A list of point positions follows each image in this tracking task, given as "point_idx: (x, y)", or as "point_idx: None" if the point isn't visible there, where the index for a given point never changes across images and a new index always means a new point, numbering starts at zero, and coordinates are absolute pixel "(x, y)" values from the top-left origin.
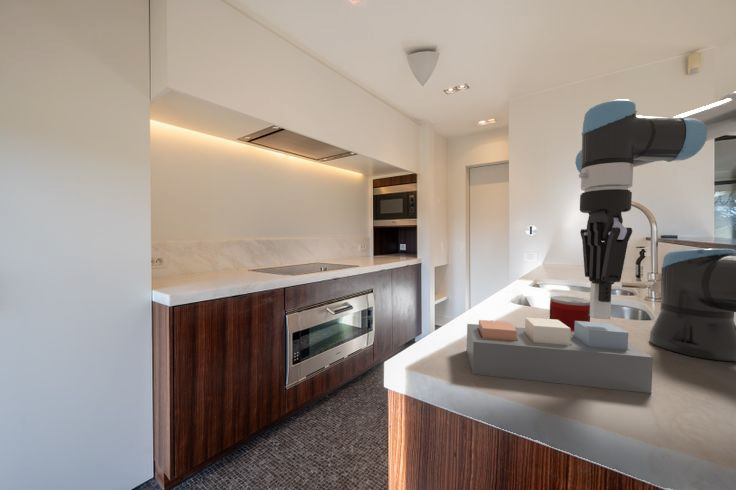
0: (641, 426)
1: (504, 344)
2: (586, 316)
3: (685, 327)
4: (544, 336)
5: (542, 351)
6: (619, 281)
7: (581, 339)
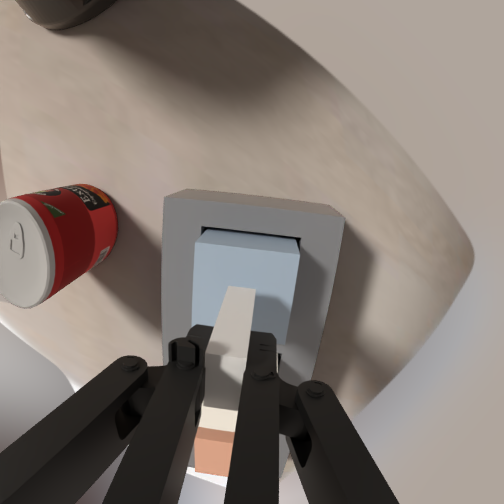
0: (420, 297)
1: (289, 451)
2: (66, 219)
3: None
4: None
5: None
6: (323, 384)
7: None
